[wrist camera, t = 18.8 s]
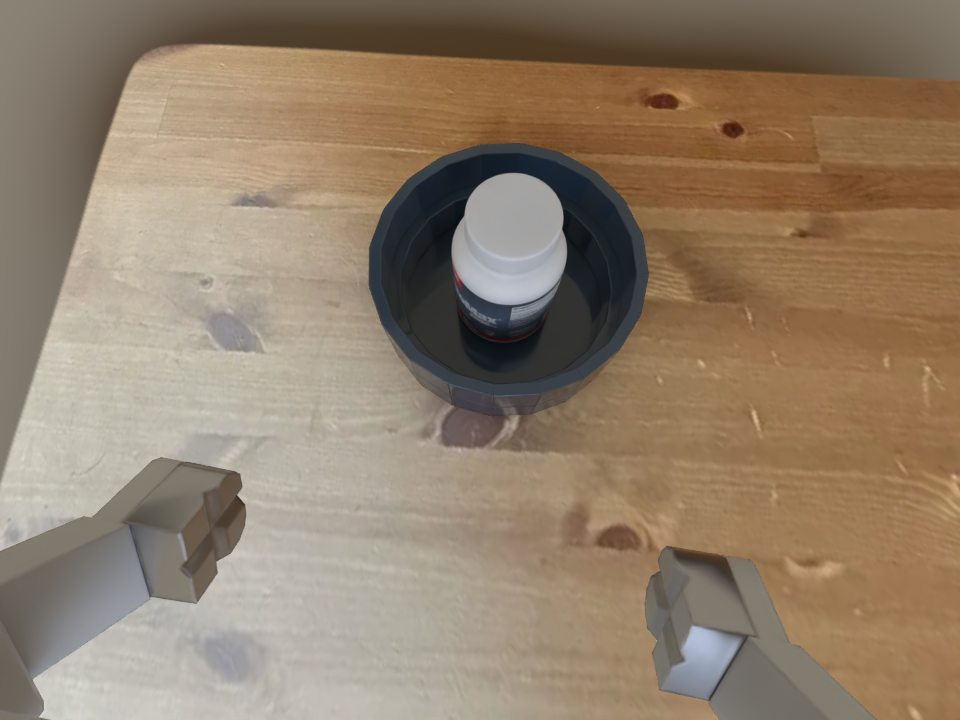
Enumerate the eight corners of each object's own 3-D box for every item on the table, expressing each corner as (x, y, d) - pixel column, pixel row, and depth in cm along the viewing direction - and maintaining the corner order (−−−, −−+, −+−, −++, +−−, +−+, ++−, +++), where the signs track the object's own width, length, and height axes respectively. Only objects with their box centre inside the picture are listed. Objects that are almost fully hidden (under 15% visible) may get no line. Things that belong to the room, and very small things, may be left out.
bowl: (517, 168, 32) (525, 100, 27) (665, 321, 29) (706, 279, 24) (343, 288, 30) (314, 240, 25) (485, 468, 27) (487, 457, 22)
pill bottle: (439, 287, 29) (422, 194, 21) (515, 243, 30) (529, 136, 21) (489, 363, 28) (494, 297, 19) (567, 314, 29) (605, 231, 20)
